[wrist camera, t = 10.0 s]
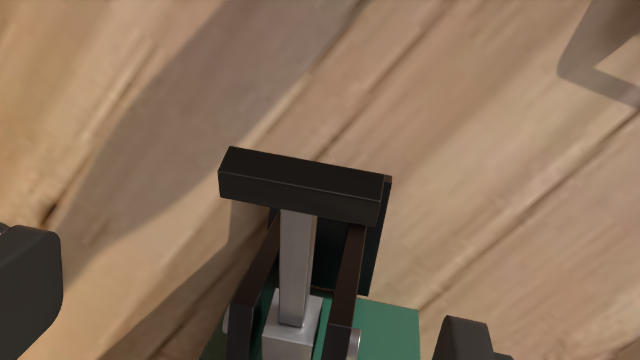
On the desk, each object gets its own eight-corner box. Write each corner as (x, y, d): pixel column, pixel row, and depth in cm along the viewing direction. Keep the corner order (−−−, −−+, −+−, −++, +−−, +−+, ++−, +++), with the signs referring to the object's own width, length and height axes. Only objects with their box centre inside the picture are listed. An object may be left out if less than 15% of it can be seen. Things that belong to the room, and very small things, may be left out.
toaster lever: (234, 132, 17) (210, 185, 15) (387, 160, 17) (378, 217, 15) (246, 312, 25) (231, 358, 24) (348, 333, 25) (340, 382, 23)
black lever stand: (279, 154, 32) (207, 259, 20) (392, 176, 32) (385, 295, 20) (266, 265, 35) (197, 412, 23) (369, 286, 35) (351, 447, 23)
